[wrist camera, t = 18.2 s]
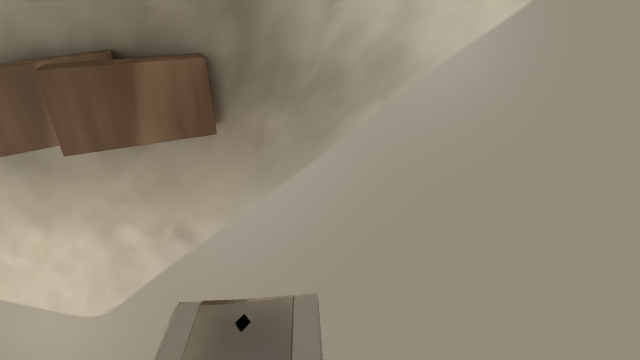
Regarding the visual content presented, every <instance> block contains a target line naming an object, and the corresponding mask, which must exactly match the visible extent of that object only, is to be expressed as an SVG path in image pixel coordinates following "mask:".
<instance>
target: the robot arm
mask: <svg viewBox="0 0 640 360" xmlns="http://www.w3.org/2000/svg"><path fill="white" fill-rule="evenodd" d="M154 360H323V355H322V341H321V328H320V314H319V301H318V294H303V295H295V296H294V295H292V296H278V297H265V298H252V299H238V300H213V301H201V302H180V303H179V304H178V305H177V306H176V307H175V308H174V310H173V313H172V316H171V318H170V320H169V323H168V326H167V328H166V331H165V333H164V336H163V338H162V340H161V343H160V346H159V348H158V351H157V353H156V356H155V358H154Z"/></svg>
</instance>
